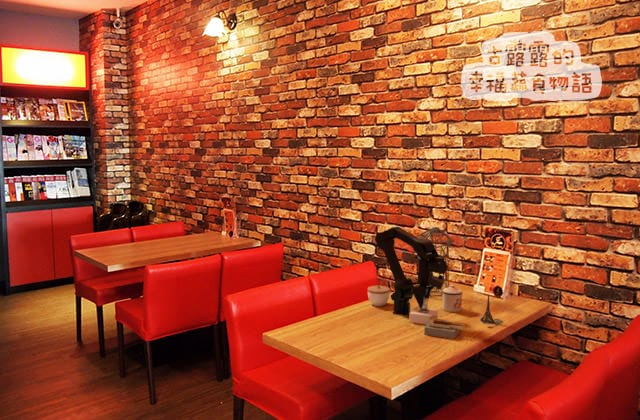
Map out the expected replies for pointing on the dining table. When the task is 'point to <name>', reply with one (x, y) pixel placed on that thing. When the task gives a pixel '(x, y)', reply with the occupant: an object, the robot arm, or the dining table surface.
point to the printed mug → (452, 299)
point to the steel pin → (425, 305)
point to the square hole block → (421, 315)
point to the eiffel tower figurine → (489, 317)
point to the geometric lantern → (439, 250)
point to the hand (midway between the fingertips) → (423, 304)
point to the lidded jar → (378, 295)
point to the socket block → (441, 331)
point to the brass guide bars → (434, 320)
